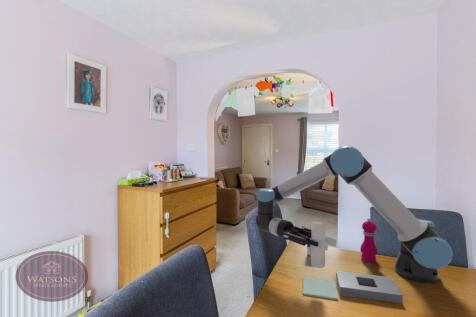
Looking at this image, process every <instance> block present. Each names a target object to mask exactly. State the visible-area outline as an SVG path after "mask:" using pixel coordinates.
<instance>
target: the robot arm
mask: <svg viewBox="0 0 476 317" xmlns="http://www.w3.org/2000/svg"><path fill="white" fill-rule="evenodd" d="M336 176H340V178H342V180H344V182H345V183H346V184H347V185H350V186H354V187H355V188H356V189H357V190H358V191H359V192H360V193H361V195H362V196H363V197H364V198H365V199H366V200H367V201H368V202H369V204H371V205H372V206H373V207H374V209H375V210H376V211H377V212H378V213H379V214H380V215H381V216H382V217H383V219H384V220H385V221H386V222H387V223H388V224H389V225H390V226H391V228H392V229H394V230H395V232H397V240H398V241H399V253H398V255H397V257H396V259H395V262H394V267H393V268H394V271H395V272H396V273H397V274H399V275H400V276H402V277H404V278H406V279H409V280H412V281H415V282H419V283H429V284H430V283H436V282H438V281H439V277H440V276H439V274H440V273H439V271H438V269H442V268H445V267H447V266H448V265H449V264H450V263H451V262H452V261H453V260H452V259H453V256H454V252H453V249H452V247H451V246H450V244H449V242H448V241H447V240H445V239H443V238H442V236H440V234H438V232H436V230H435V229H436V226H435V223H434V222H433V221H431V220H425V219H419V218H417V217H416V216H415V215H414V214H413V213H412V212H411V211H410V210H409V208H407V207H406V205H405V204H404V203H403V202H402V201H401V200H400V199H399V198H398V197H397V196H396V195H395V194H394V193H393V192H392V191H391V190H390V189H389V188H388V187H387V185H385V184H384V182H383V181H382V180H381V179H380V178H379V177H378V176H377V175H376V174H375V173H374V172H373V165H372V164H371V163H370V162H369V161H368V160H367V158H366V157H364V155H363V154H362V152H361V151H360V150H359V149H357V148H356V147H353V146H351V145H343V146H340V147H337V148H336V149H335V150H334V151H333V152H332V153H331V154H329V155H327V156H326V157H324V158H323V159H322V161H321V162H319V163H317V164H315V165H314V166H312V167H310V168H308V169H306V170H304V171H301V173H298V174H296V175H294V176H293V177H291V178H289V179H287V180H285V181H284V182H281V183H279V184H278V185H276V186H274V187H272V188H259V190H258V191H257V213H255V214H254V216H253V219H254V218H255V222H256V225H257V227H258V228H259V229H258V228H257V229H258V230H259V231H263V232H266V233H269V234H272V235H274V236H275V237H279V238H281V239H283V240H287V241H290V242H293V243H295V244H298V245H301V246H306V248H307V247H310V245H312V246H315V247H318V248H320V249H323V250H325V252H326V251H328V250H329V246H331V247H337V239H336V238H334V237H331V236H328V235H325V242H324V241H321V240H318V239H315V238H311V235H312V228H309V227H307V226H304V225H302V226H301V227H299V226H294V224H293V223H292V222H291V221H290V220H286V219H283V218H280V217H277V216H275V205H277V204H278V203H280V202H281V201H283V200H285V199H287V198H289V197H291V196H293V195H295V194H297V193H299V192H301V191H303V190H305V189H307V188H309V187H312V186H314V185H316V184H317V183H319V182H321V181H323V180H325V179H327V178H330V177H336ZM310 238H311V239H310Z"/></svg>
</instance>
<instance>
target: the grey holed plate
mask: <svg viewBox="0 0 476 317" xmlns="http://www.w3.org/2000/svg"><path fill="white" fill-rule="evenodd" d="M335 280H336V284H337V288H338V292H339V296H345V297H353V298H359V299H360V298H361V299H365V300H374V301H380V302H388V303H393V304H394V303H395V304H400V305H403V302H404V300H403V299H404V298H403V296H404V295H403V293H402V292H401V290H400V289H399V287H398V285H397V284H396V283H395V281H394V280H393V278H392V277H391V276H382V275H374V274H366V273H359V272H358V273H357V272H350V271H342V270H336V271H335Z"/></svg>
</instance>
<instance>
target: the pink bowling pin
mask: <svg viewBox="0 0 476 317" xmlns="http://www.w3.org/2000/svg"><path fill="white" fill-rule="evenodd" d="M361 227H362V230H363V231H362V233H363V235H364V236H363V237H364V238H363V241H362V243H361V245H360V248H359V249H360V252H361V255H360V257H361V260H362V261H364V262H367V263H376V261H377V255H378V248H377V246H376V244H375V238H374V237H375V236H376V231H377V225H376V223H375V222H373V221H372V218H370V217H368V218H367V220H366V221H364V222H362V225H361Z"/></svg>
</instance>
